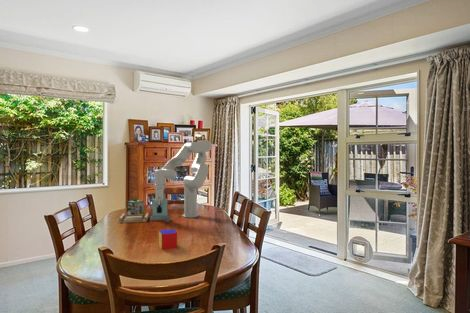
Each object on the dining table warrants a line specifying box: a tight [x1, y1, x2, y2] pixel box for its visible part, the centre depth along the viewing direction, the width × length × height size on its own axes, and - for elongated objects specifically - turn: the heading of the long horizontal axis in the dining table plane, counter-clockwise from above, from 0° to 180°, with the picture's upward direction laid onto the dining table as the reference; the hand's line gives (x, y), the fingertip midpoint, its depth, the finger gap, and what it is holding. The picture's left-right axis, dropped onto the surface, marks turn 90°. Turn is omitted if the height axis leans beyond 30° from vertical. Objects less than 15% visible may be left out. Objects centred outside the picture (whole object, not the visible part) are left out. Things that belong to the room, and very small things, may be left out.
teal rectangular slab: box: [152, 198, 168, 216], centre depth 224 cm, size 2×10×15 cm, turn 101°
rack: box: [118, 212, 150, 224], centre depth 223 cm, size 16×18×4 cm
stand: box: [149, 214, 171, 223], centre depth 224 cm, size 8×14×4 cm, turn 100°
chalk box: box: [126, 196, 145, 215], centre depth 242 cm, size 9×9×15 cm
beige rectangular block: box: [124, 216, 143, 223], centre depth 218 cm, size 5×12×3 cm, turn 100°
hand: (159, 212), depth 224 cm, fingers closed on teal rectangular slab, 2 cm apart
